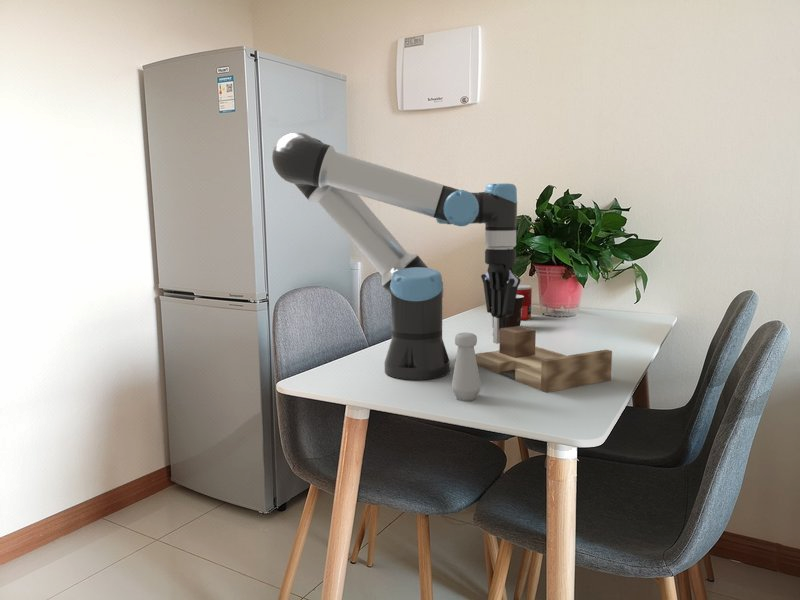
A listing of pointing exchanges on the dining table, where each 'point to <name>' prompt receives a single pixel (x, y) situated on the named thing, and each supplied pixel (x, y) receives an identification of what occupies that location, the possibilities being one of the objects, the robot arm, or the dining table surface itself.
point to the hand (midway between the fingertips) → (499, 342)
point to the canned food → (525, 300)
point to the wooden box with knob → (550, 368)
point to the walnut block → (517, 341)
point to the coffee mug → (516, 312)
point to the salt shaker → (466, 368)
